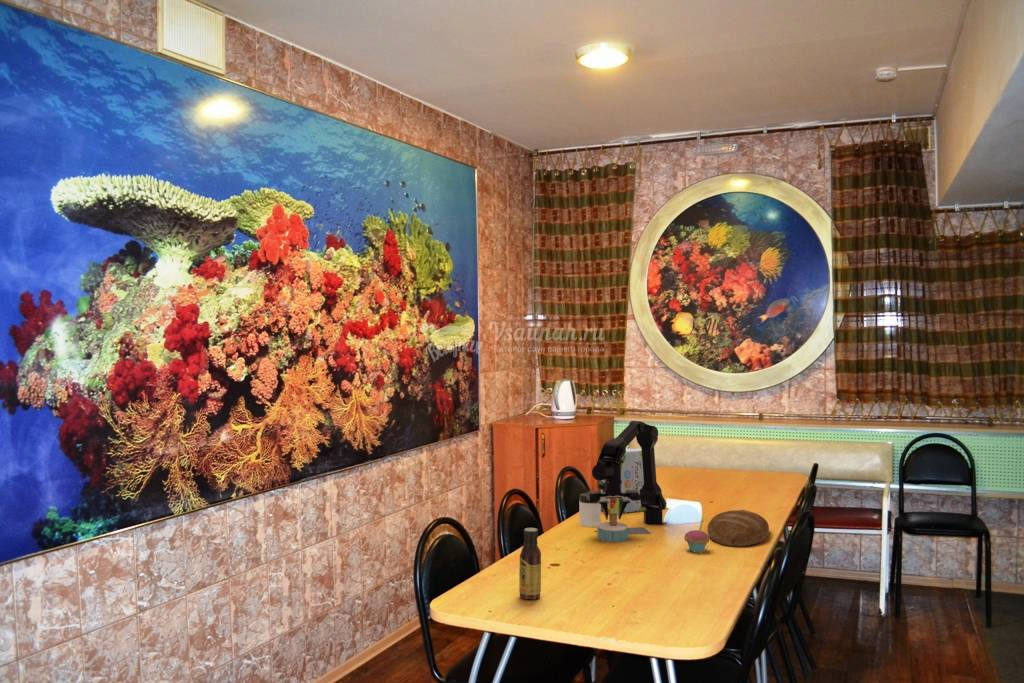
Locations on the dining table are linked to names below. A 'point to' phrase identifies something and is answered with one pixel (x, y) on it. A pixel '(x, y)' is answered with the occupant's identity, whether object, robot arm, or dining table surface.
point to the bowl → (612, 535)
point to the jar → (589, 512)
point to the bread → (738, 528)
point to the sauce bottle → (530, 566)
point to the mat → (638, 530)
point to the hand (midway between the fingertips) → (613, 519)
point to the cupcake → (697, 539)
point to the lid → (613, 524)
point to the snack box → (629, 481)
